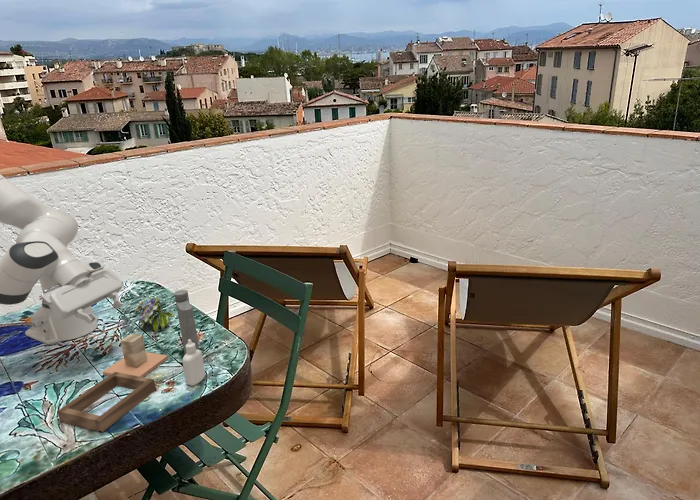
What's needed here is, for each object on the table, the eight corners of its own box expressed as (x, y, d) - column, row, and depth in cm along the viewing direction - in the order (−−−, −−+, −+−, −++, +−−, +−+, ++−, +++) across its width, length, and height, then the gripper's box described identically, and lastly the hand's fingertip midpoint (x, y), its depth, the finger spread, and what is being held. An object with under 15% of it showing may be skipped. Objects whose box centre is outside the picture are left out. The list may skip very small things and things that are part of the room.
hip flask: (202, 365, 129) (191, 300, 122) (187, 369, 127) (175, 303, 121) (195, 341, 142) (185, 281, 136) (181, 344, 141) (171, 283, 135)
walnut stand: (60, 421, 107) (57, 410, 106) (117, 381, 122) (114, 371, 121) (102, 432, 103) (99, 421, 102) (156, 389, 118) (154, 379, 117)
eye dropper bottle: (182, 380, 121) (175, 340, 118) (203, 372, 125) (196, 333, 121) (188, 387, 118) (181, 346, 115) (209, 379, 122) (203, 339, 118)
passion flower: (147, 341, 155) (133, 310, 156) (179, 327, 159) (165, 296, 161) (145, 336, 145) (130, 302, 146) (178, 321, 149) (163, 289, 151)
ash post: (125, 366, 128) (120, 340, 125) (136, 358, 131) (131, 333, 129) (137, 368, 127) (131, 342, 124) (147, 360, 130) (142, 335, 128)
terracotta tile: (103, 374, 126) (102, 371, 126) (135, 353, 137) (135, 350, 136) (137, 381, 122) (136, 378, 122) (168, 358, 133) (167, 355, 132)
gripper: (41, 285, 117) (78, 324, 116) (105, 259, 135) (138, 293, 135) (33, 299, 119) (69, 337, 119) (97, 272, 138) (129, 305, 138)
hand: (106, 314), depth 127 cm, fingers open, 8 cm apart
